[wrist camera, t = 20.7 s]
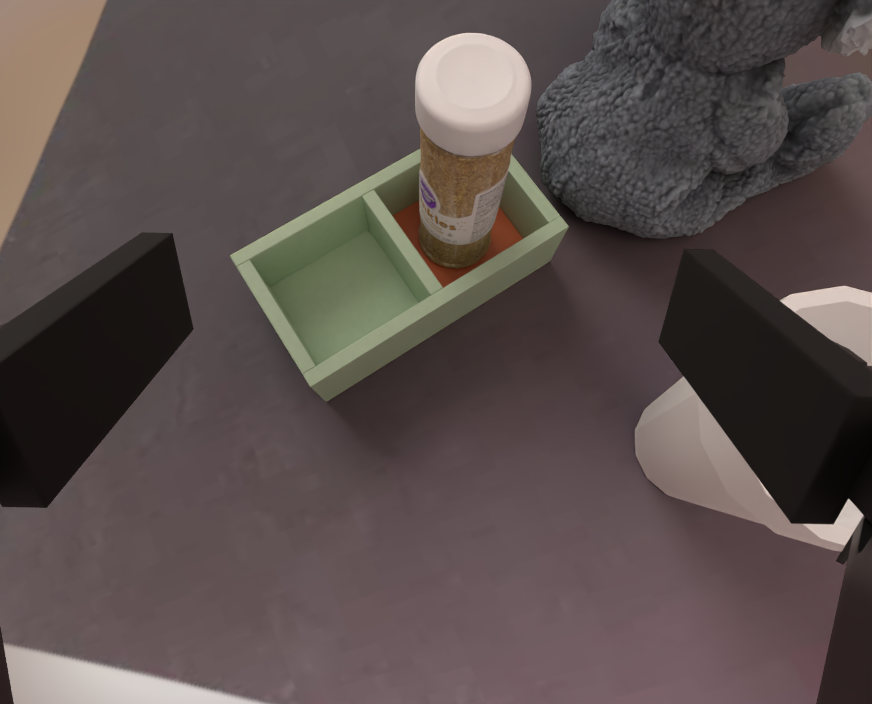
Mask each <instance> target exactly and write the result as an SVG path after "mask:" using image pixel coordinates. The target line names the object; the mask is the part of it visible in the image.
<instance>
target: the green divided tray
mask: <svg viewBox="0 0 872 704" xmlns="http://www.w3.org/2000/svg"><path fill="white" fill-rule="evenodd" d="M420 165H421V149H419V150H417V151H415V152H413V153H412V154H410V155H408V156H406V157H404V158H403V159H401V160H399V161H397V162H396V163H394V164H392V165H390V166H388V167H387V168H385V169H383V170H381V171H380V172H378V173H376V174H374V175H372V176H371V177H369V178H367V179H365V180H364V181H362V182H360V183H358V184H356V185H355V186H353V187H351V188H349V189H347V190H346V191H344V192H342V193H340V194H339V195H337V196H335V197H333V198H331V199H330V200H328V201H326V202H324V203H323V204H321V205H319V206H317V207H315V208H314V209H312V210H310V211H308V212H307V213H305V214H303V215H301V216H299V217H298V218H296V219H294V220H292V221H291V222H289V223H287V224H285V225H283V226H282V227H280V228H278V229H276V230H274V231H273V232H271V233H269V234H267V235H266V236H264V237H262V238H260V239H258V240H257V241H255V242H253V243H251V244H250V245H248V246H246V247H244V248H242V249H241V250H239V251H237V252H235V253H234V254H232V255H230V257H231V259H232V261H233V262H234V264H235V266H236V267H237V269H238V270H239V272H240V274H241V275H242V277H243V279H244V280H245V282H246V283H247V285H248V287H249V288H250V290H251V292H252V293H253V295H254V296H255V298H256V300H257V301H258V303H259V305H260V306H261V308H262V309H263V311H264V313H265V314H266V316H267V318H268V319H269V321H270V323H271V324H272V326H273V327H274V329H275V331H276V332H277V334H278V336H279V337H280V339H281V340H282V342H283V344H284V345H285V347H286V349H287V350H288V352H289V353H290V355H291V357H292V358H293V360H294V362H295V363H296V365H297V366H298V368H299V370H300V371H301V373H302V374H303V376H304V378H305V379H306V381H307V383H308V384H309V386H310V387H311V388H312V389H313V390H314V391H315V392H316V393H317V394H318V395H319V396H320V397H321V398H322V399H324V400H325V401H326V402H327V401H329V400H330V399H332V398H334V397H335V396H337V395H338V394H340V393H342V392H343V391H345V390H346V389H348V388H349V387H351V386H353V385H354V384H356V383H357V382H359V381H361V380H362V379H364V378H365V377H367V376H369V375H370V374H372V373H373V372H375V371H377V370H378V369H380V368H381V367H383V366H384V365H386V364H388V363H389V362H391V361H392V360H394V359H396V358H397V357H399V356H400V355H402V354H404V353H405V352H407V351H408V350H410V349H411V348H413V347H415V346H416V345H418V344H419V343H421V342H423V341H424V340H426V339H427V338H429V337H431V336H432V335H434V334H435V333H437V332H439V331H440V330H442V329H443V328H445V327H446V326H448V325H450V324H451V323H453V322H454V321H456V320H458V319H459V318H461V317H462V316H464V315H466V314H467V313H469V312H470V311H472V310H474V309H475V308H477V307H478V306H480V305H481V304H483V303H485V302H486V301H488V300H489V299H491V298H493V297H494V296H496V295H497V294H499V293H501V292H502V291H504V290H505V289H507V288H508V287H510V286H512V285H513V284H515V283H516V282H518V281H520V280H521V279H523V278H524V277H526V276H528V275H529V274H531V273H532V272H534V271H536V270H537V269H539V268H540V267H542V266H543V265H545V264H547V263H548V262H550V260H551V259H552V257H553V255H554V253H555V251H556V250H557V248H558V246H559V244H560V242H561V240H562V238H563V236H564V235H565V233H566V231H567V229H568V227H569V226H568V225H567V224H566V222H565V221H564V220H563V219H562V217H561V216H560V215H559V214H558V212H557V211H556V210H555V209H554V207H553V206H552V205H551V203H550V202H549V201H548V200H547V198H546V197H545V196H544V195H543V193H542V192H541V191H540V190H539V188H538V187H537V186H536V184H535V183H534V182H533V181H532V179H531V178H530V177H529V176H528V174H527V173H526V172H525V171H524V169H523V168H522V167H521V165H520V164H519V163H518V162H517V160H516V159H515V158H514V157H513V155H512V154H511V159H510V165H509V169H508V173H507V177H506V181H505V185H504V189H503V193H502V197H501V201H500V205H499V208H498V212H497V216H496V219H495V222H494V224H493V227H492V231H491V243H490V246H489V249H488V251H487V252H486V254H485V255H484V256H483V257H482V258H481V259H480V260H479V261H478V262H477V263H475V264H472V265H471V266H467V267H464V268H458V269H454V268H446V267H444V266H440V265H439V264H436V263H434V262H433V261H431V260H430V258H428V257H427V256H426V255H425V253H424V251H423V250H422V248H421V245H420V241H419V236H418V235H419V225H420V211H419V171H420Z"/></svg>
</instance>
